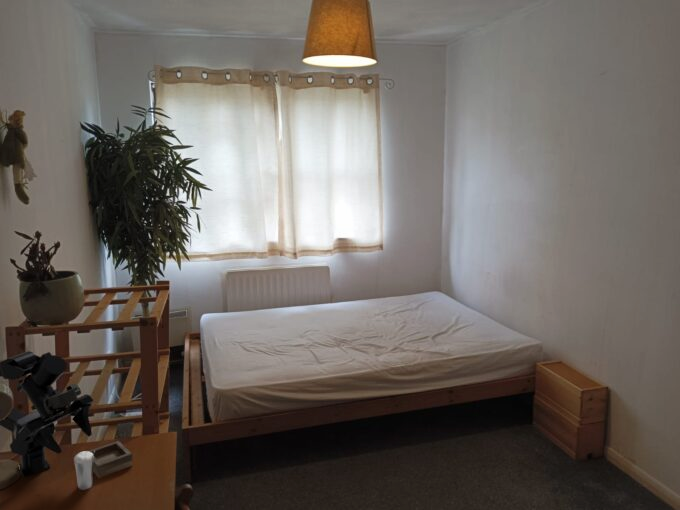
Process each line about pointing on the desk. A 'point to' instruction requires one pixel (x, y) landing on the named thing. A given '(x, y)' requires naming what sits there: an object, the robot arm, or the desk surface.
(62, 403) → the robot arm
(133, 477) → the desk surface
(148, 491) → the desk surface
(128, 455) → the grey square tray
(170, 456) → the desk surface
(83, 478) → the milkshake
